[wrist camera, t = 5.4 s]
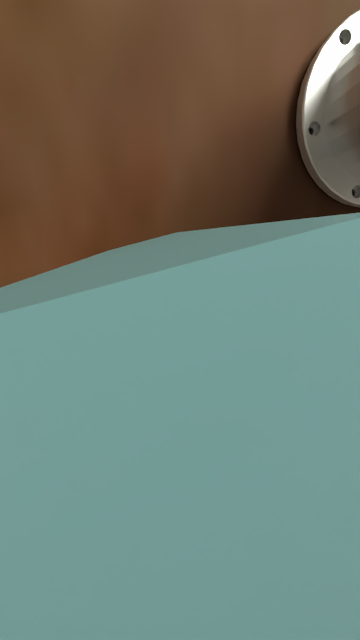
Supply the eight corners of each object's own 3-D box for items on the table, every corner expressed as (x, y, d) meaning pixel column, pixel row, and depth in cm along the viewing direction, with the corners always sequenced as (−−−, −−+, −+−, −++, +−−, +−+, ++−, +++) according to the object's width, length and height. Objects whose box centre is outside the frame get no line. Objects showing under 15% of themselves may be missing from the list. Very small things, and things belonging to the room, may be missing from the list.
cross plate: (109, 250, 13) (-336, 403, 1) (176, 232, 13) (392, 208, 1) (186, 491, 17) (257, 1050, 5) (236, 477, 17) (415, 1004, 5)
